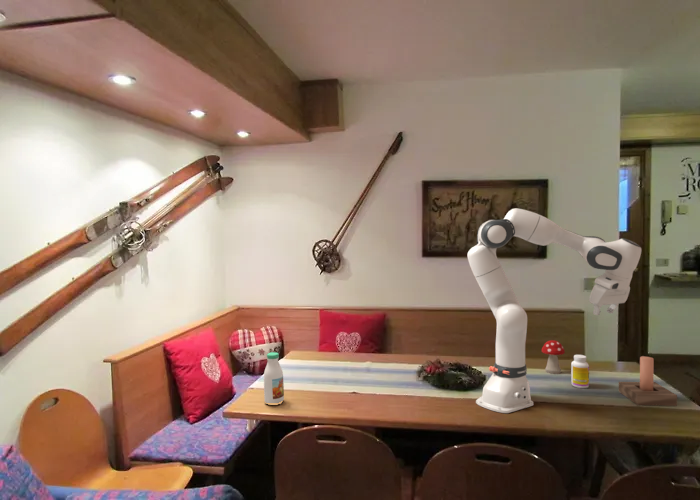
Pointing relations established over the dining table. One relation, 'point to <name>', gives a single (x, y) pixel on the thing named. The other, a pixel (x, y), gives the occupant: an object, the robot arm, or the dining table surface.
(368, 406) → the dining table surface
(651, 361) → the peg
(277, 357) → the milk bottle
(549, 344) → the decorative mushroom
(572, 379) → the supplement bottle
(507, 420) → the dining table surface
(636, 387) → the socket
